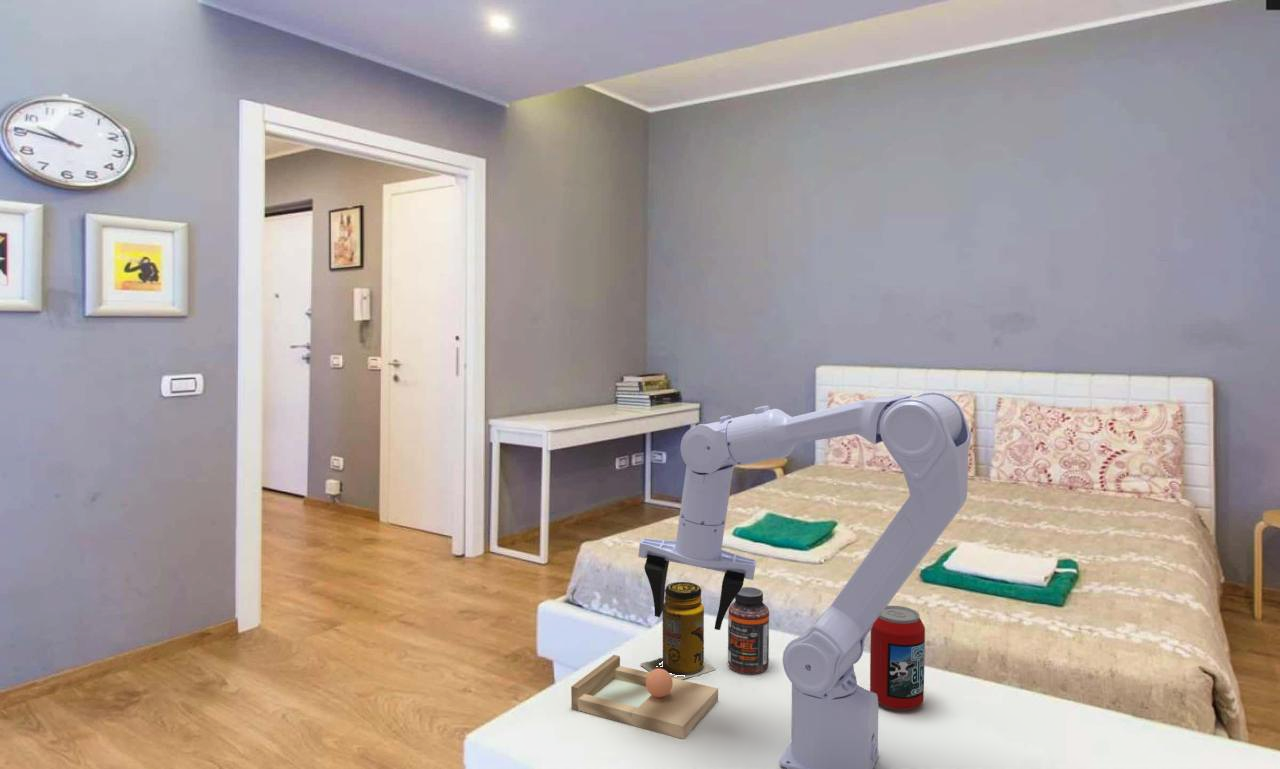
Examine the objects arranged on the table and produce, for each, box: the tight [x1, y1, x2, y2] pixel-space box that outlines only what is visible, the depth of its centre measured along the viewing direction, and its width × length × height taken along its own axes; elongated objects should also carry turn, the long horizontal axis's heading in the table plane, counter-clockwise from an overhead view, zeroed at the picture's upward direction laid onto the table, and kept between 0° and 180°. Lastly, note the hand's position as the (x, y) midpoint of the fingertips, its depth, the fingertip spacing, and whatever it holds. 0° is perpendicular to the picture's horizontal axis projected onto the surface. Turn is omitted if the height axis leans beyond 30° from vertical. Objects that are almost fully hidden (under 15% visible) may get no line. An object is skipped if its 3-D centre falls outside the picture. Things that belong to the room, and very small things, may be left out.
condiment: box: [640, 581, 717, 680], centre depth 111 cm, size 7×8×12 cm
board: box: [570, 654, 719, 740], centre depth 100 cm, size 16×11×3 cm
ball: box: [646, 669, 673, 697], centre depth 99 cm, size 4×4×4 cm
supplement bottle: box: [727, 586, 770, 675], centre depth 111 cm, size 6×6×11 cm
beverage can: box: [869, 605, 926, 711], centre depth 100 cm, size 7×7×12 cm
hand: (688, 619), depth 97 cm, fingers open, 7 cm apart
